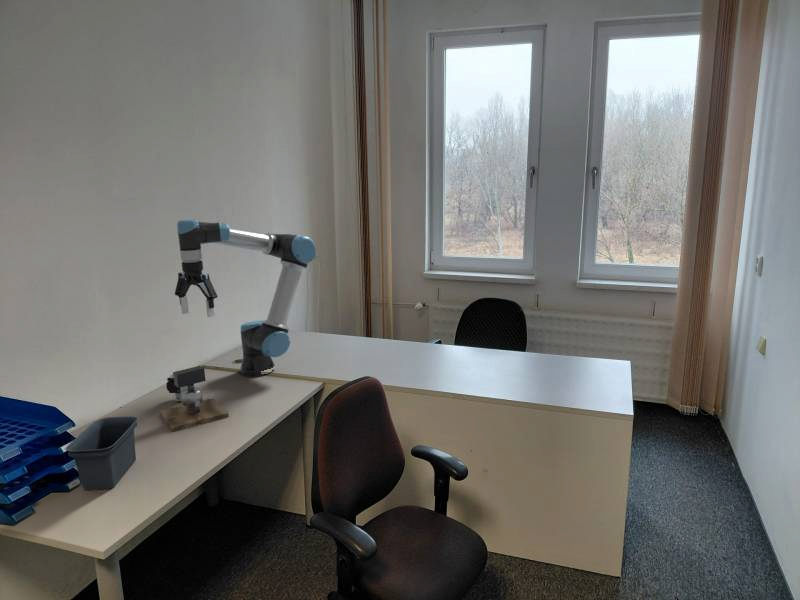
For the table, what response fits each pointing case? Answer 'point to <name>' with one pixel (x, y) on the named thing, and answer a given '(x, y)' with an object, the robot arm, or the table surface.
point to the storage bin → (104, 451)
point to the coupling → (190, 384)
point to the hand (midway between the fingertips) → (198, 314)
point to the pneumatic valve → (174, 388)
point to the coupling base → (193, 414)
